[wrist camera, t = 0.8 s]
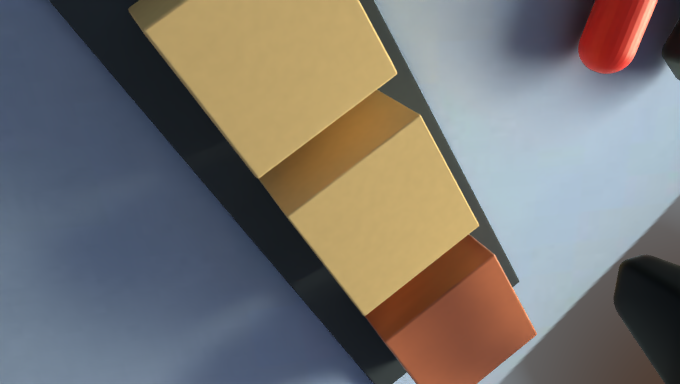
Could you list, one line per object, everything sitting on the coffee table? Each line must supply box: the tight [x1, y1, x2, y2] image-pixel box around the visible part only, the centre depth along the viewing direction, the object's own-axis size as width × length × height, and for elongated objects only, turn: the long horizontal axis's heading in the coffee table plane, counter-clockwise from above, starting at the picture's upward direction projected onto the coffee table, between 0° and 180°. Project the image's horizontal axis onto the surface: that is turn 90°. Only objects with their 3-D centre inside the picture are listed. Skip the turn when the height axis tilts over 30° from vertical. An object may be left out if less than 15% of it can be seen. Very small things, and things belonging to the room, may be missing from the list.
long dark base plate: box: [49, 0, 519, 384], centre depth 21 cm, size 8×22×4 cm, turn 31°
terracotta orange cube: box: [365, 234, 537, 384], centre depth 25 cm, size 5×5×4 cm
